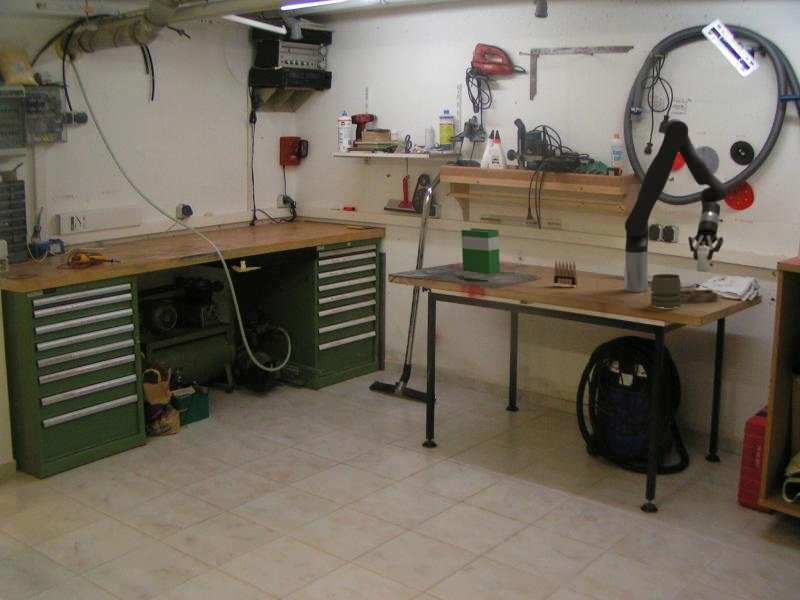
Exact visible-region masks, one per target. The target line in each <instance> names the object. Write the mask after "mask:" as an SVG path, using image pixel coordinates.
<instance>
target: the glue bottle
mask: <svg viewBox="0 0 800 600" xmlns="http://www.w3.org/2000/svg"><path fill="white" fill-rule="evenodd" d="M709 250H710V248H709V247H707V246H705V242H702V245H701V246H700V247H699V248H698V250H697V260H696V271H697V272H700V273H701V272H703V273H704V272H706V273H707V272H709V271H710V260H708V254H709Z"/></svg>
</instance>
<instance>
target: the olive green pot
mask: <svg viewBox="0 0 800 600" xmlns="http://www.w3.org/2000/svg"><path fill="white" fill-rule="evenodd" d="M650 291H651V292H652V293H650V306H651V305H652V306H655V307H664V308H674V307H680V306H681V305H682V302H681V299H680V298H681V294H680V293H678V292H680V291H682V282H681V280H680V275H679V274H671V273H670V274H669V273H659V274H653V276H652V280H651V282H650ZM681 307H682V306H681ZM681 307H680V308H681Z"/></svg>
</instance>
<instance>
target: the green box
mask: <svg viewBox="0 0 800 600" xmlns="http://www.w3.org/2000/svg"><path fill="white" fill-rule="evenodd" d="M460 233H461V250H462V254H461V255H462V272H463V271H470V272H478V273H484V274H497V273H500V272H501V271H500V270H501V269H500V267H501V265H500V236H499V229H487V228H473V227H472V228H470V229H469V230H468V229H461V232H460ZM500 274H501V273H500Z"/></svg>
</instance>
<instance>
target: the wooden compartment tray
mask: <svg viewBox="0 0 800 600" xmlns="http://www.w3.org/2000/svg"><path fill="white" fill-rule="evenodd" d="M678 293H680V294H681V298H680V299H681V303H700V302H701V303H703V302H704V303H705V302H707V303H708V302H718V293H717V292H716V291H714V290H712V289H693V290H692V289H691V290H681V291H680V292H678Z"/></svg>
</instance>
